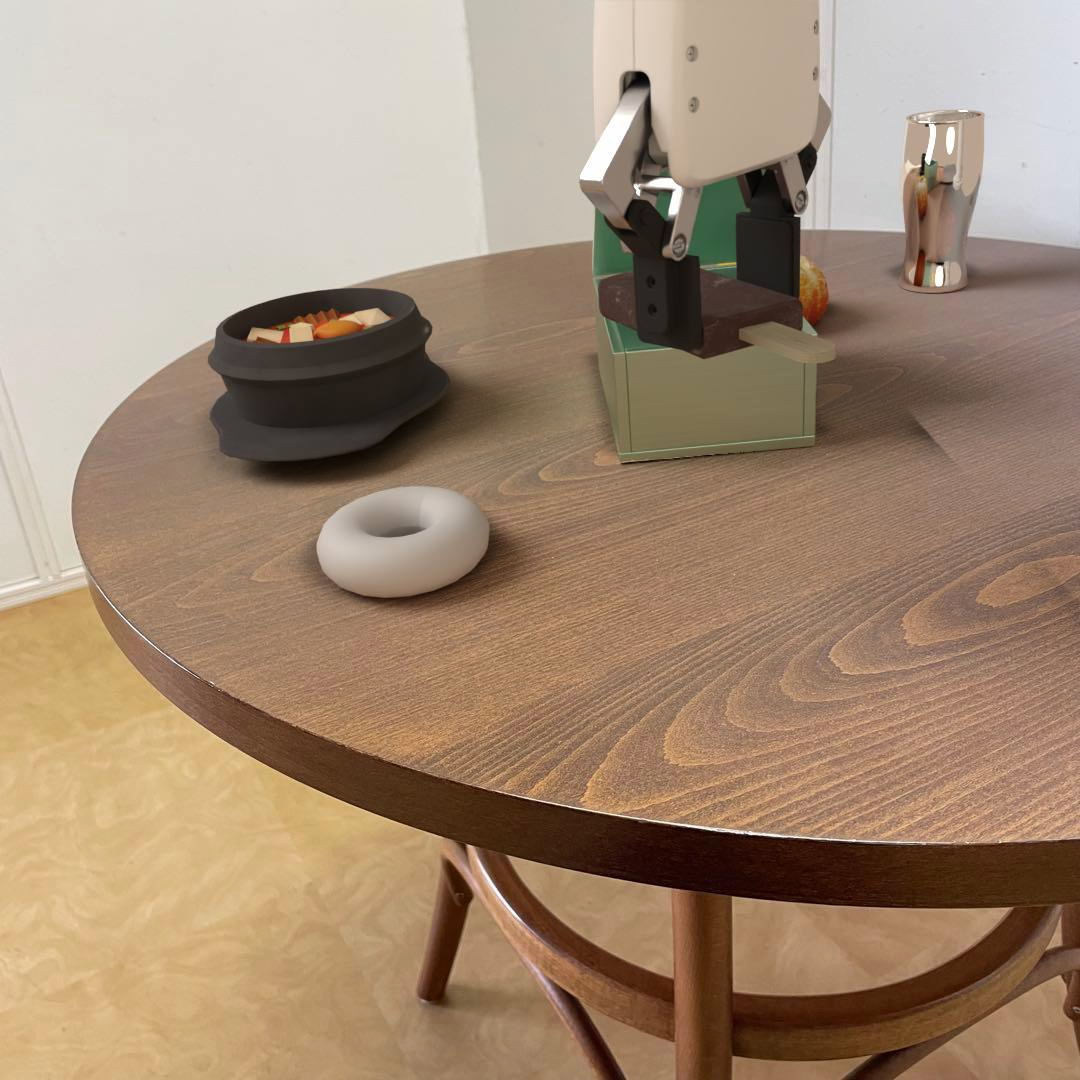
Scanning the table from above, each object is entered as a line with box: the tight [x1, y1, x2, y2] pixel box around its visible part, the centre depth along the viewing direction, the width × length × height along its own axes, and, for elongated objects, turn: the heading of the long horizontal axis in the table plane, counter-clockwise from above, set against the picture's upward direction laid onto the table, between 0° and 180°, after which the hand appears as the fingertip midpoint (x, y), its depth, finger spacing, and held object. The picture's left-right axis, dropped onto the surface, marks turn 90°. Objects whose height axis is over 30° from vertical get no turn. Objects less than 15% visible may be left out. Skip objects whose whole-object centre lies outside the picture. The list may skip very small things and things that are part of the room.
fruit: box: [716, 254, 830, 327], centre depth 99 cm, size 11×10×8 cm
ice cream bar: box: [598, 268, 837, 364], centre depth 51 cm, size 5×2×15 cm
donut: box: [316, 485, 490, 599], centre depth 65 cm, size 10×4×10 cm
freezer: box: [592, 264, 819, 463], centre depth 82 cm, size 19×13×8 cm
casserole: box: [207, 287, 451, 463], centre depth 86 cm, size 25×19×8 cm
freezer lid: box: [591, 169, 766, 277], centre depth 79 cm, size 20×13×5 cm
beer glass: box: [898, 109, 986, 294], centre depth 102 cm, size 7×7×15 cm
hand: (720, 318), depth 51 cm, fingers closed on ice cream bar, 6 cm apart
